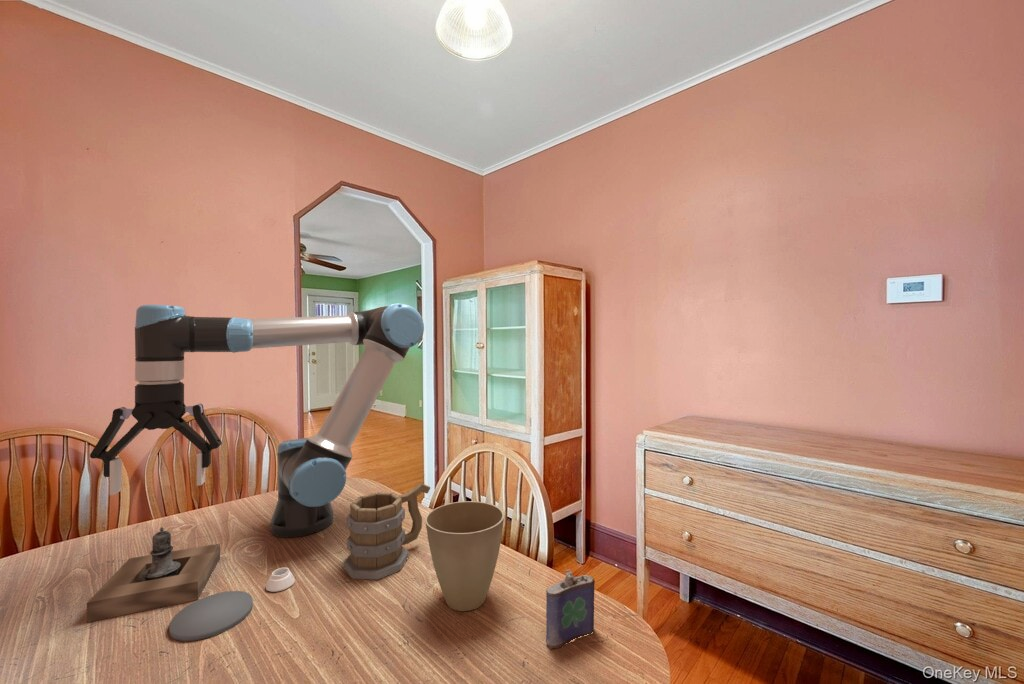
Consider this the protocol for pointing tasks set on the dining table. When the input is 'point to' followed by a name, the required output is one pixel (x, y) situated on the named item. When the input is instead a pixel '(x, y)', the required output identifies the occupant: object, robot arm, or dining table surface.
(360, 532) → the tankard
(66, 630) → the dining table surface
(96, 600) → the pocket holder
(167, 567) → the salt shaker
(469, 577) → the plant pot
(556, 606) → the flask
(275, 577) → the white tapered ring
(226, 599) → the slate mat
